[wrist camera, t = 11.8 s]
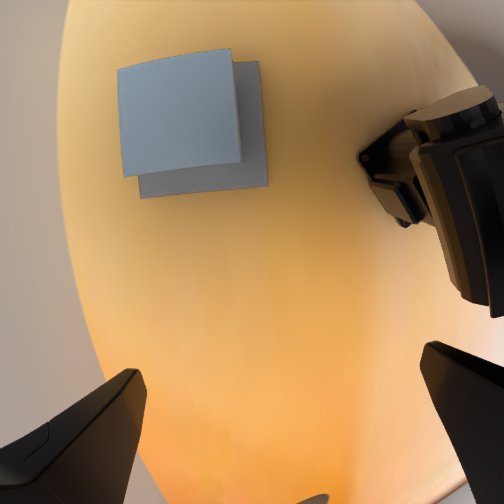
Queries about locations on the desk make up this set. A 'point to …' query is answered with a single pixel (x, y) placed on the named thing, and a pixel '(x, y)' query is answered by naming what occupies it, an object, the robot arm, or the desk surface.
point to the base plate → (224, 175)
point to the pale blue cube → (179, 113)
